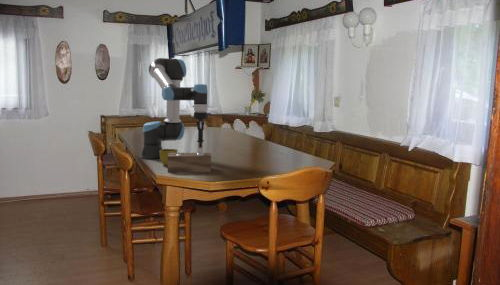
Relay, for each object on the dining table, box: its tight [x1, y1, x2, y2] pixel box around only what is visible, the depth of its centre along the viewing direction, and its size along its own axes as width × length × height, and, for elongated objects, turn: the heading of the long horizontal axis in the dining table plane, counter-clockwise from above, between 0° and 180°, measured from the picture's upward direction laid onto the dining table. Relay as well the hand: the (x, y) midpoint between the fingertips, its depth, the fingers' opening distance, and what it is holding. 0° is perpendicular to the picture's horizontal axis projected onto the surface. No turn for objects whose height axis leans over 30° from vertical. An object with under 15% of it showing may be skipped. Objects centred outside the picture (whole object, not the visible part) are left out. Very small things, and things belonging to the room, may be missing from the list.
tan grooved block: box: [167, 152, 212, 173], centre depth 238 cm, size 12×24×9 cm, turn 97°
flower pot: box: [159, 148, 178, 166], centre depth 252 cm, size 9×9×9 cm
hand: (200, 152), depth 238 cm, fingers closed
